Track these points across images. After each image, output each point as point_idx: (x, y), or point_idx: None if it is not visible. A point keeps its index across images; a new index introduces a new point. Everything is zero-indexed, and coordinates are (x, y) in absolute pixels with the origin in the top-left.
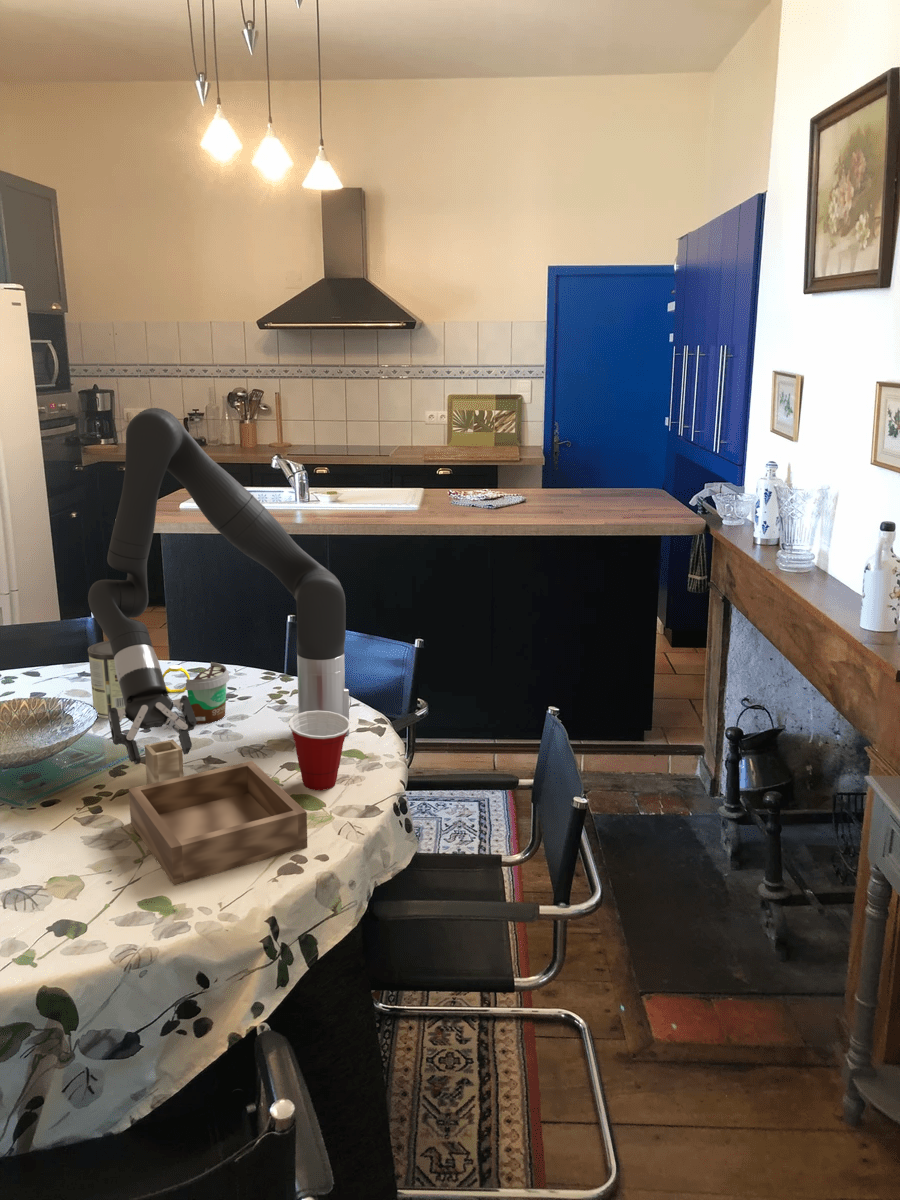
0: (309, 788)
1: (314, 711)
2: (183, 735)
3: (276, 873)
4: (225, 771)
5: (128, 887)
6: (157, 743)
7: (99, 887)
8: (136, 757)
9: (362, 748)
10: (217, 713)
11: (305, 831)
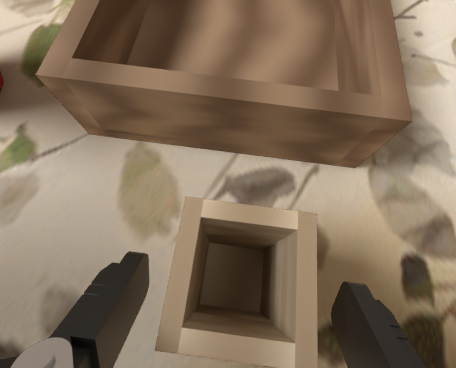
0: (1, 79)
1: None
2: (103, 309)
3: None
4: (137, 67)
5: (395, 13)
6: (249, 347)
7: (432, 31)
8: (366, 289)
9: None
10: None
11: None
